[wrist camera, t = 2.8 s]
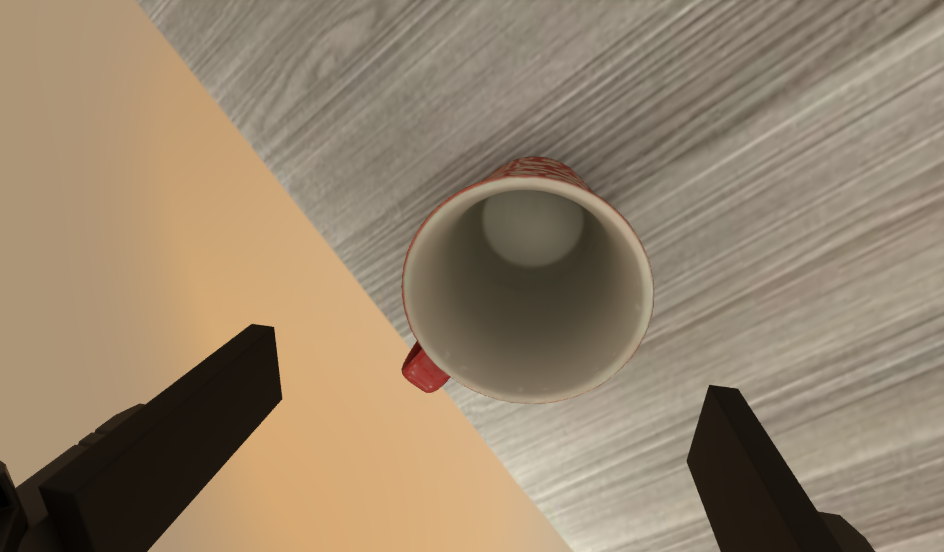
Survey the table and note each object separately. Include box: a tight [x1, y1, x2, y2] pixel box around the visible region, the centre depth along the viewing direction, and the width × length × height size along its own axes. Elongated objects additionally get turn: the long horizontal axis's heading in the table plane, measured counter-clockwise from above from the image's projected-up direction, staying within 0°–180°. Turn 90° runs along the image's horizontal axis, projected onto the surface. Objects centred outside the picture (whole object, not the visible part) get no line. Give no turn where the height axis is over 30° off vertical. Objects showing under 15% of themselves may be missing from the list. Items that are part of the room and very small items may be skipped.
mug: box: [401, 157, 654, 404], centre depth 23 cm, size 13×9×14 cm
